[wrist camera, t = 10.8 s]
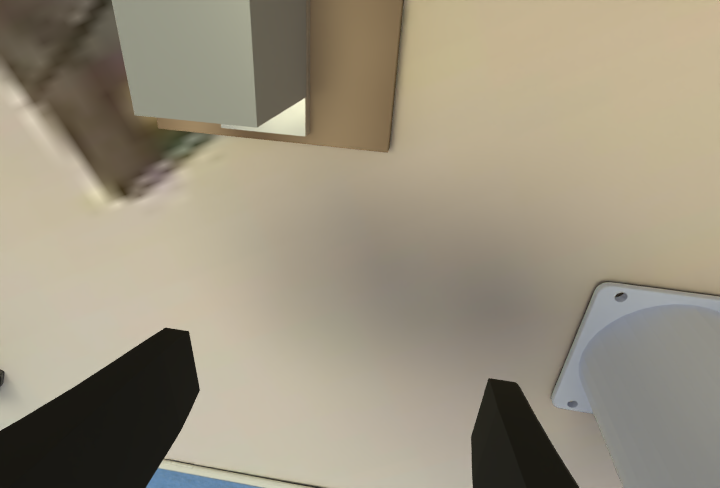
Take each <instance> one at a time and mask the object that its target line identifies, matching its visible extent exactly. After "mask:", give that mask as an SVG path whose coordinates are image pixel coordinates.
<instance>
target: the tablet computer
mask: <svg viewBox="0 0 720 488" xmlns="http://www.w3.org/2000/svg"><path fill="white" fill-rule="evenodd" d="M146 488H314V487H308V486H302V485H297V484H292V483H287V482H281V481H276V480H271V479H265V478H260V477H255V476H249V475H244V474H239V473H233V472H228V471H223V470H217V469H212V468H207V467H201V466H196V465H191V464H185V463H180V462H175V461H170V460H165V459H163V461H162V462H161V464H160V466H159V467H158V469H157V470H156V472H155V474H154V475H153V477H152V478H151V480H150V482H149V483H148V485H147V486H146Z"/></svg>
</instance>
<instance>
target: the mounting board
mask: <svg viewBox="0 0 720 488" xmlns="http://www.w3.org/2000/svg"><path fill="white" fill-rule="evenodd" d="M403 1H404V0H310V133H309V134H308V135H306V136H295V135H286V134H276V133H266V132H257V131H247V130H237V129H227V128H221V124H216V123H206V122H197V121H187V120H177V119H167V118H157V117H156V118H157V124H158V128H159V129H169V130H178V131H188V132H197V133H207V134H216V135H226V136H235V137H245V138H254V139H264V140H274V141H283V142H293V143H302V144H312V145H321V146H331V147H340V148H350V149H359V150H369V151H378V152H388V150H389V147H390V137H391V127H392V116H393V106H394V95H395V85H396V75H397V64H398V54H399V43H400V33H401V22H402V12H403Z"/></svg>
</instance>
